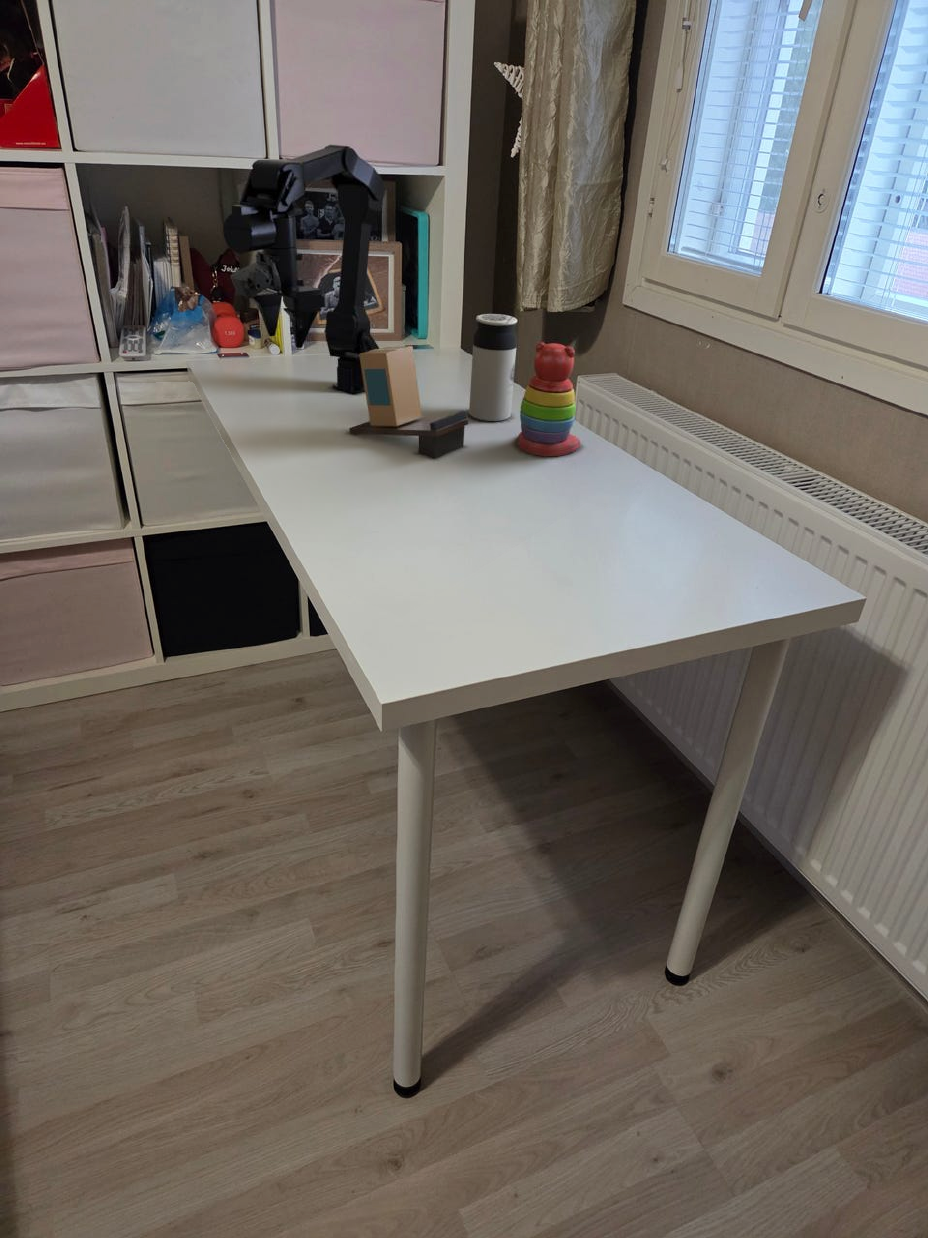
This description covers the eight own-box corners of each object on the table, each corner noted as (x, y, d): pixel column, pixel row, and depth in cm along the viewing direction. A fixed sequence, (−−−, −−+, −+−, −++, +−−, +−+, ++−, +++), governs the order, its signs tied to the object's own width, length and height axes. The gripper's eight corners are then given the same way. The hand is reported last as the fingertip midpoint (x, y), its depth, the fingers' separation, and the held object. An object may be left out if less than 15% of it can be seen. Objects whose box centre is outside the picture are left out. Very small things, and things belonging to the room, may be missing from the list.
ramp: (349, 433, 149) (348, 398, 146) (382, 421, 155) (382, 388, 152) (436, 460, 140) (437, 424, 137) (467, 446, 146) (469, 412, 143)
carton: (359, 422, 148) (358, 345, 141) (385, 413, 153) (385, 339, 146) (396, 433, 144) (397, 355, 137) (421, 423, 149) (424, 348, 142)
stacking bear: (582, 444, 151) (596, 342, 142) (564, 461, 143) (577, 354, 134) (526, 433, 154) (536, 332, 145) (505, 449, 146) (514, 344, 137)
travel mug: (462, 417, 160) (468, 318, 151) (477, 406, 167) (484, 311, 157) (502, 424, 158) (510, 324, 149) (515, 413, 164) (524, 317, 155)
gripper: (208, 240, 142) (218, 335, 151) (264, 258, 131) (271, 360, 139) (267, 236, 149) (273, 328, 157) (325, 253, 137) (329, 351, 145)
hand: (285, 341), depth 149 cm, fingers open, 9 cm apart
